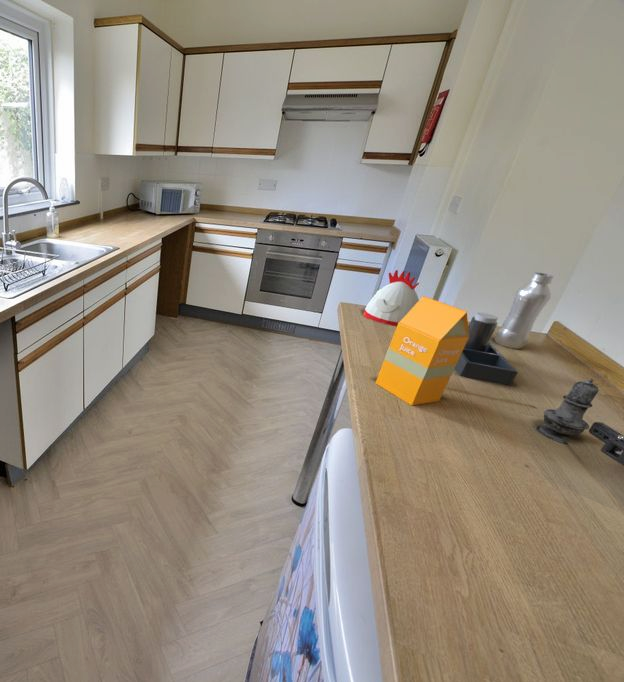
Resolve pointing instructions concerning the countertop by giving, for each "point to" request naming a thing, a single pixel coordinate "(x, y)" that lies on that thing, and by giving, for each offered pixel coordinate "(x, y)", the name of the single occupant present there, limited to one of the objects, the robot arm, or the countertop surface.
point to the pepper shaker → (480, 331)
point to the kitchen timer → (393, 300)
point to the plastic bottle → (524, 312)
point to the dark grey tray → (486, 366)
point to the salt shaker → (569, 413)
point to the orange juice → (424, 351)
